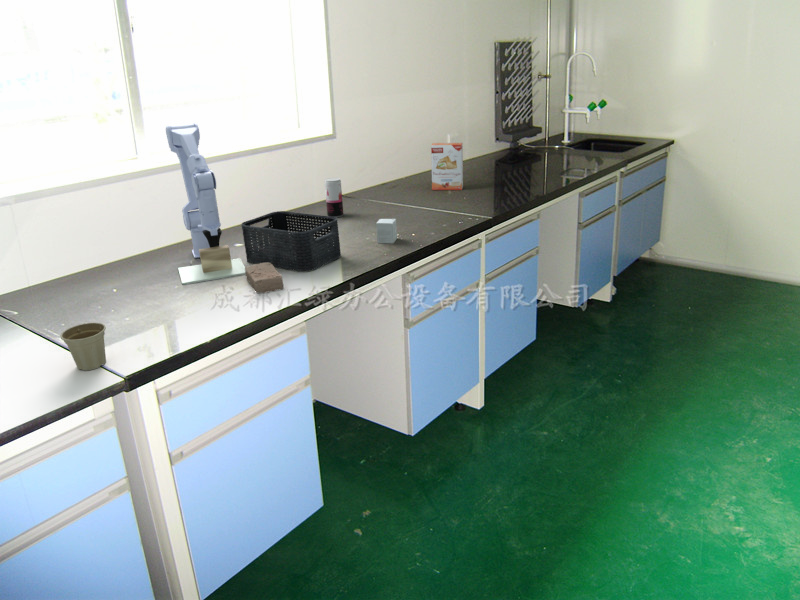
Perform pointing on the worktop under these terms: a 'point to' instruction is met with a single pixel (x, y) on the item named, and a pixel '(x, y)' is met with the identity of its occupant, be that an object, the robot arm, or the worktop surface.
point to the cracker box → (447, 166)
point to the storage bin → (292, 241)
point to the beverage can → (334, 197)
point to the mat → (196, 273)
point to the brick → (264, 277)
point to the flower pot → (86, 345)
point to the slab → (215, 258)
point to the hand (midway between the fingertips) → (215, 251)
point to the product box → (386, 231)
